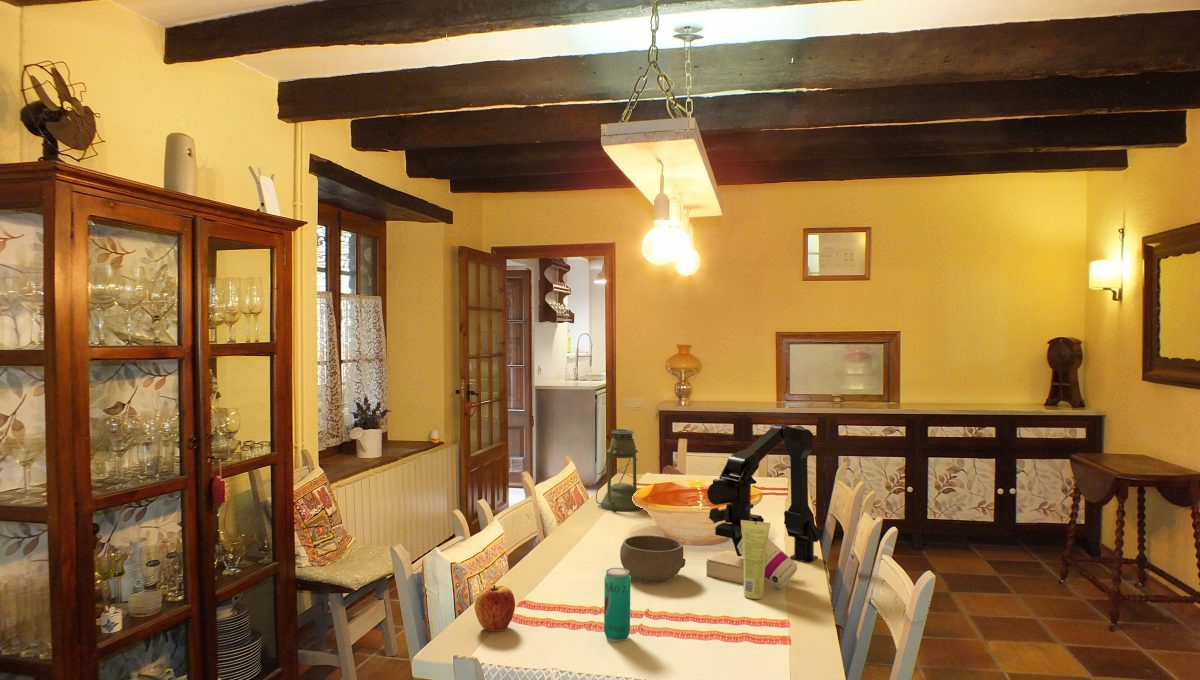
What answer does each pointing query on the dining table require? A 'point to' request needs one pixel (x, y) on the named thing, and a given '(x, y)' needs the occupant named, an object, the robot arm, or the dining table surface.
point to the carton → (726, 568)
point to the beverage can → (617, 604)
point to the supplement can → (776, 564)
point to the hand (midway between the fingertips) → (739, 555)
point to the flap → (731, 554)
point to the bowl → (652, 558)
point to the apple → (495, 607)
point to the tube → (754, 557)
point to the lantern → (622, 492)
